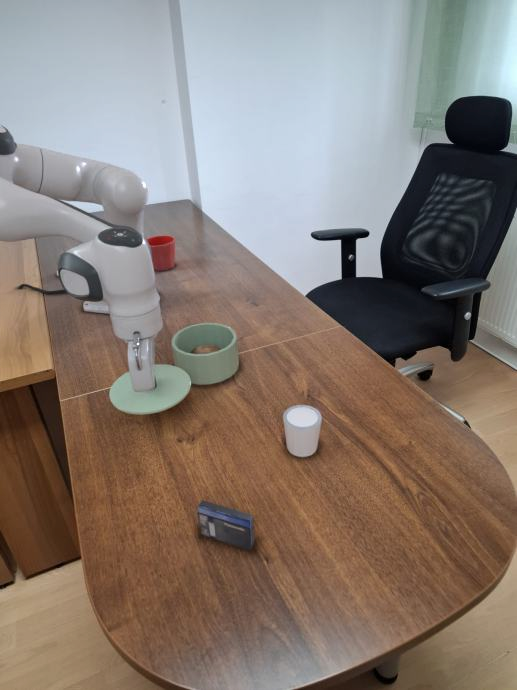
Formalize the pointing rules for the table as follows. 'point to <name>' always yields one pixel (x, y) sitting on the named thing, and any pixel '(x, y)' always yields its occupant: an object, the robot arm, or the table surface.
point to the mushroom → (205, 349)
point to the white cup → (302, 429)
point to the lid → (151, 391)
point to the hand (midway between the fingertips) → (149, 382)
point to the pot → (206, 365)
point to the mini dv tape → (226, 524)
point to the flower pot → (162, 252)
